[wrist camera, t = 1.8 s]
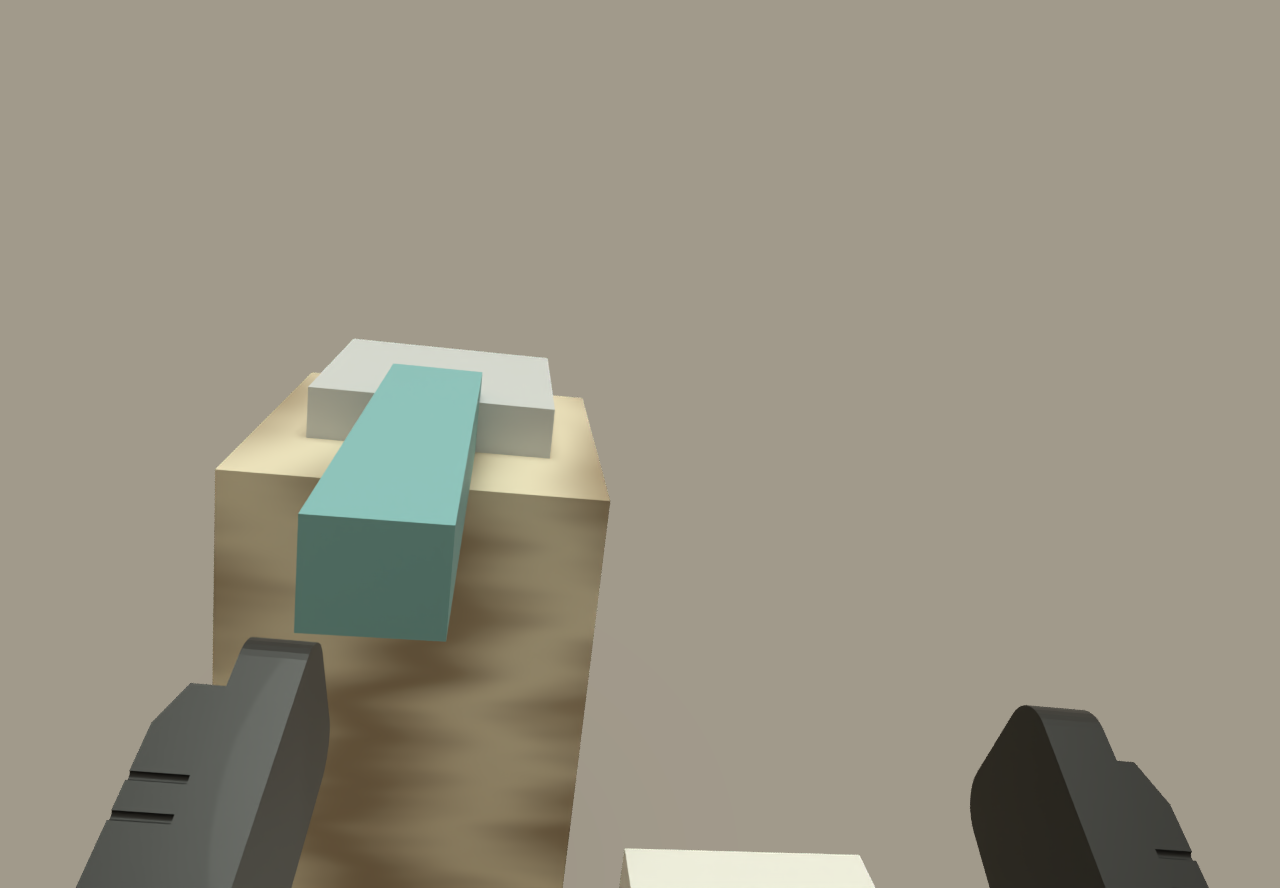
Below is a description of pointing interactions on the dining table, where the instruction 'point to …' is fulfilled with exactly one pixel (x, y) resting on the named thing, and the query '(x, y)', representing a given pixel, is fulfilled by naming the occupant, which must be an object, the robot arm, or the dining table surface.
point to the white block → (740, 870)
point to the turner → (405, 479)
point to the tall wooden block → (434, 665)
